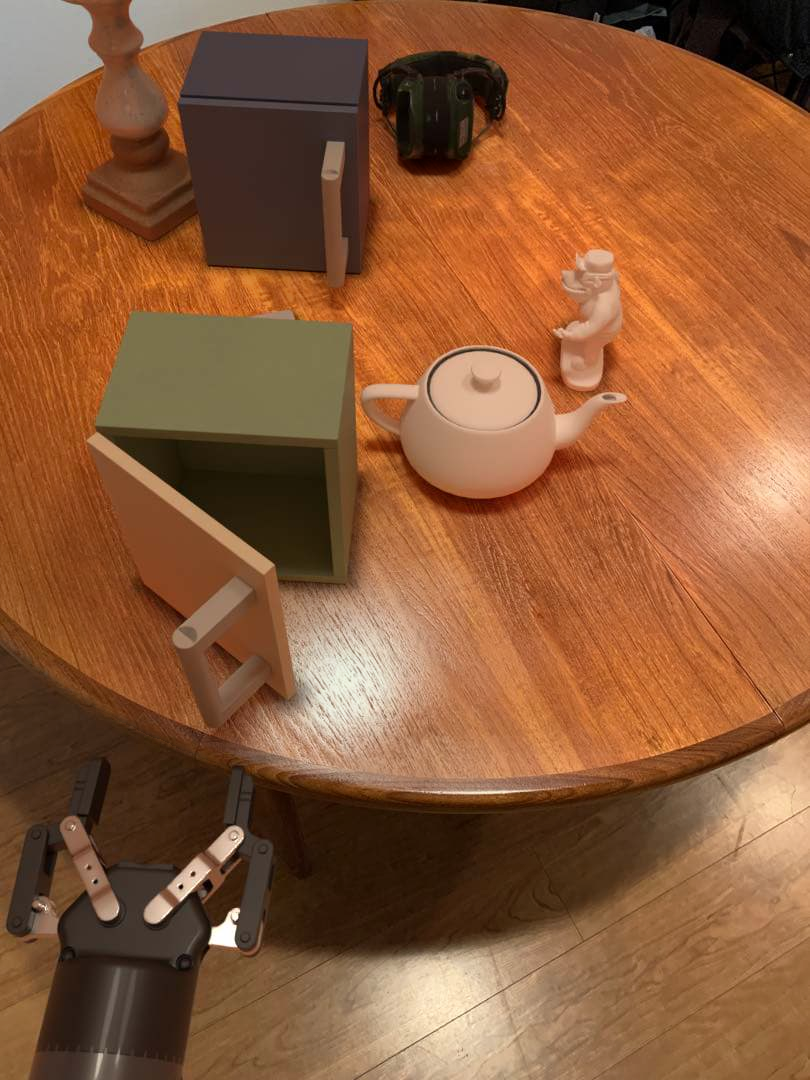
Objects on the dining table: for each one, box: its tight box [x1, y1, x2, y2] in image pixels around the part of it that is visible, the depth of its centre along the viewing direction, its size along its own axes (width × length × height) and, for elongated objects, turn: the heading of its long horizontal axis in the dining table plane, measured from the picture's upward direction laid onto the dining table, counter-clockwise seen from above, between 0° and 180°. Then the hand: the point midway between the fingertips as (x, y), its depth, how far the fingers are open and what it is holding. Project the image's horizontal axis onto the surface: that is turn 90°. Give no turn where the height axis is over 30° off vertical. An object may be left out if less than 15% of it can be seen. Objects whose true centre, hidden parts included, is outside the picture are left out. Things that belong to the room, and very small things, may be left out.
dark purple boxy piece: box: [179, 30, 371, 267], centre depth 93 cm, size 11×16×18 cm
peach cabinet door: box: [85, 431, 298, 729], centre depth 63 cm, size 7×16×18 cm, turn 51°
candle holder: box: [61, 0, 198, 242], centre depth 93 cm, size 11×11×24 cm
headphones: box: [372, 50, 510, 161], centre depth 108 cm, size 13×13×20 cm
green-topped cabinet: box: [93, 310, 359, 585], centre depth 71 cm, size 11×16×18 cm
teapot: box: [359, 344, 628, 499], centre depth 79 cm, size 22×14×11 cm, turn 86°
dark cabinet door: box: [176, 96, 362, 289], centre depth 88 cm, size 7×16×18 cm, turn 87°
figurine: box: [552, 248, 624, 392], centre depth 85 cm, size 9×7×12 cm
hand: (171, 764), depth 57 cm, fingers open, 8 cm apart
